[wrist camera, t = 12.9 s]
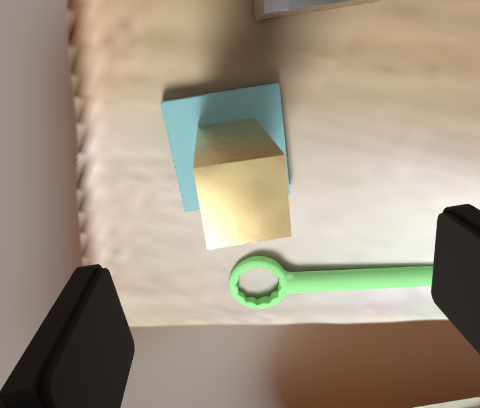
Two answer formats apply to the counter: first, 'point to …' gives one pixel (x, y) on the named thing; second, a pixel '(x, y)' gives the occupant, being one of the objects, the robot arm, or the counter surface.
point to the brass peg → (240, 184)
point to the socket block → (297, 6)
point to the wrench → (326, 280)
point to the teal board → (217, 111)
